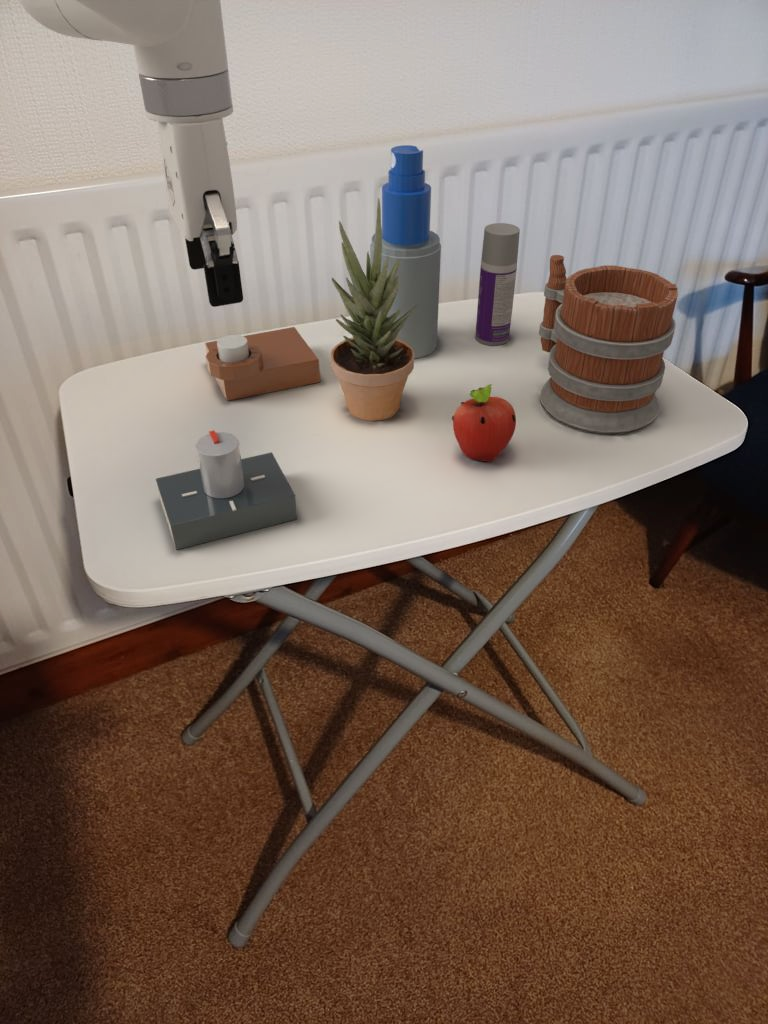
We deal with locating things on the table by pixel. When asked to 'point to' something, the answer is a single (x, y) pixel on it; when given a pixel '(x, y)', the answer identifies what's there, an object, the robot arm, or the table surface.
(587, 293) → the mug
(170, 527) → the panel
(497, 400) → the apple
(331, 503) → the table surface
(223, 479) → the tap knob
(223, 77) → the robot arm
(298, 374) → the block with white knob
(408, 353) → the potted plant
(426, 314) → the spray bottle
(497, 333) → the container
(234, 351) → the white cylindrical plug
